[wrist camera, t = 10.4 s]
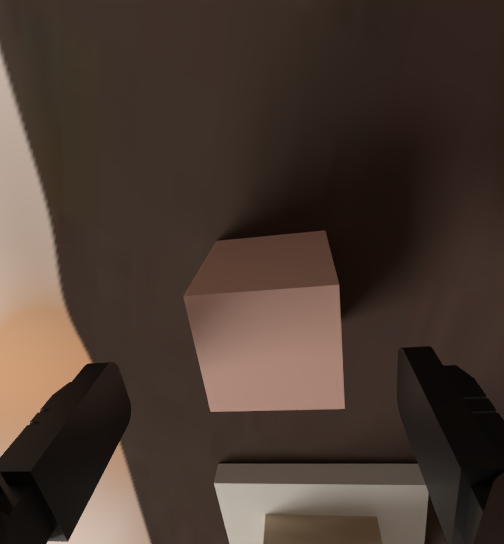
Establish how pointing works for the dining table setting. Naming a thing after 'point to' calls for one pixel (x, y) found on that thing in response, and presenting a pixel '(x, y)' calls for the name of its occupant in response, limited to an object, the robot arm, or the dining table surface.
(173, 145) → the dining table surface
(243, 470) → the pad
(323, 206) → the dining table surface
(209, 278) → the coral block
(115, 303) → the dining table surface
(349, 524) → the maple block
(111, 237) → the dining table surface
